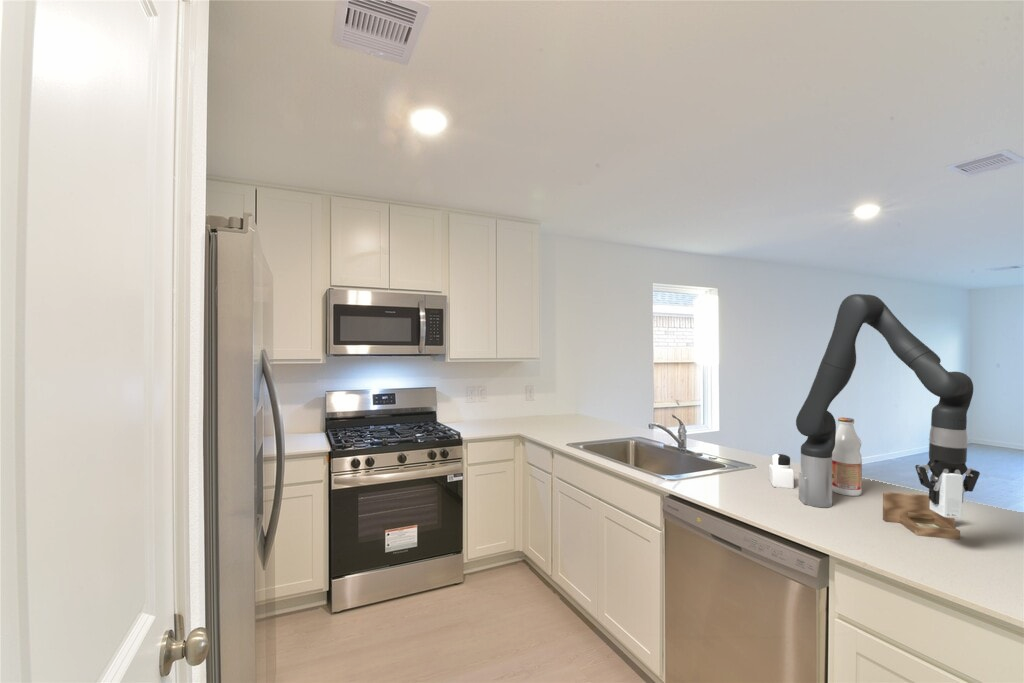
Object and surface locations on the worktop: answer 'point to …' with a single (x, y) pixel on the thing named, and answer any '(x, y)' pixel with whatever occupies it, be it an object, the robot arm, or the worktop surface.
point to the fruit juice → (847, 460)
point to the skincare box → (949, 496)
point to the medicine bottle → (781, 472)
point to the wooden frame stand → (917, 515)
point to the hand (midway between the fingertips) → (945, 503)
